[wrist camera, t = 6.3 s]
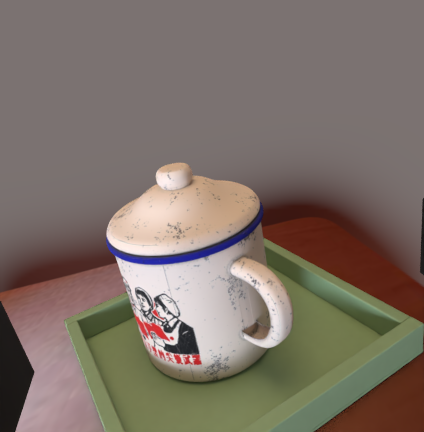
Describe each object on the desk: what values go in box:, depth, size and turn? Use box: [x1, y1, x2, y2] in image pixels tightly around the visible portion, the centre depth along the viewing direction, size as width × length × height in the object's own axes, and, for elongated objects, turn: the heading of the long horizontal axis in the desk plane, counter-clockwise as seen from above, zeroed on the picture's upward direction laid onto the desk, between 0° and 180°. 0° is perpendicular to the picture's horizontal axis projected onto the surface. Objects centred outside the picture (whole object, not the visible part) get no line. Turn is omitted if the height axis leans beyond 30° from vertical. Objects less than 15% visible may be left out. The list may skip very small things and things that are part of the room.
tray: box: [64, 238, 424, 432], centre depth 25 cm, size 16×17×2 cm
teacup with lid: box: [106, 163, 293, 382], centre depth 23 cm, size 12×9×12 cm
